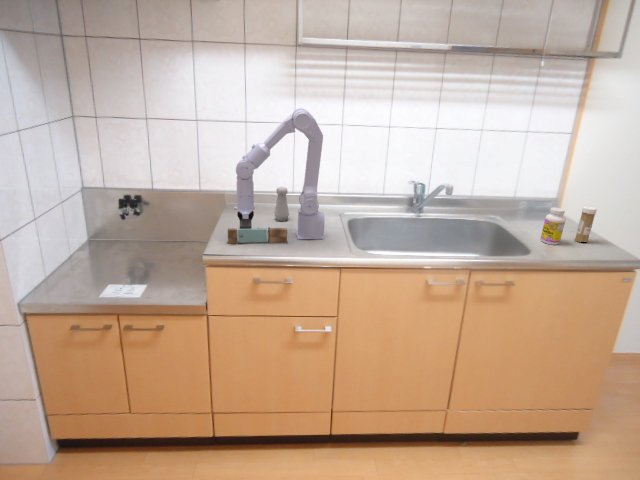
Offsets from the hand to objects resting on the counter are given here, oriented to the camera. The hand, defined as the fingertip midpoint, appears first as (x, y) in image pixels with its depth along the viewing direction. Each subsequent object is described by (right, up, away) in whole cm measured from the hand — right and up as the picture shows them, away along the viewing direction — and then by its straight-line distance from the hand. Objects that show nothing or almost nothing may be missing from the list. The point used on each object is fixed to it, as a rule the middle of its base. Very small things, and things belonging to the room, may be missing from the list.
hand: (245, 231), depth 160 cm
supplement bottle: (+112, -4, +8) cm, 113 cm away
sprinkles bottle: (+125, -4, +10) cm, 125 cm away
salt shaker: (+11, +5, +18) cm, 22 cm away
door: (+3, -4, -6) cm, 8 cm away
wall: (+5, -4, -5) cm, 8 cm away
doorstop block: (0, -2, -2) cm, 3 cm away
